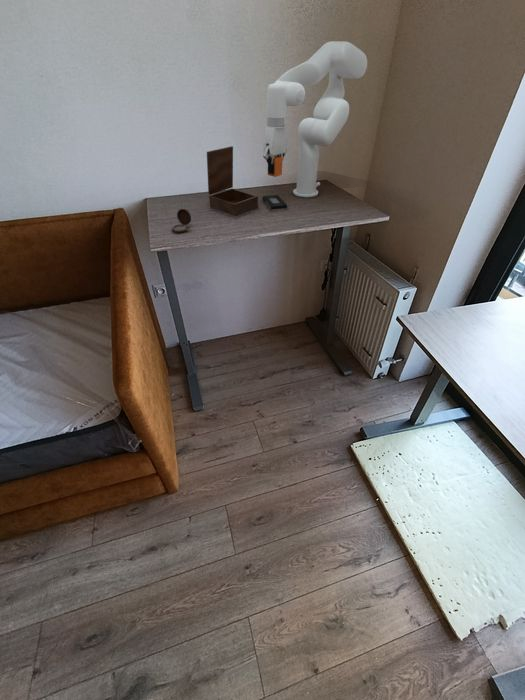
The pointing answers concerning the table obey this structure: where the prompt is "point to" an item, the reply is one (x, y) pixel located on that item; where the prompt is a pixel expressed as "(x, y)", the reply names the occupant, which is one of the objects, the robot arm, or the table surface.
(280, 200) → the vhs tape
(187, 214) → the compass
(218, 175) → the case lid
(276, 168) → the block
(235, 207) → the case
